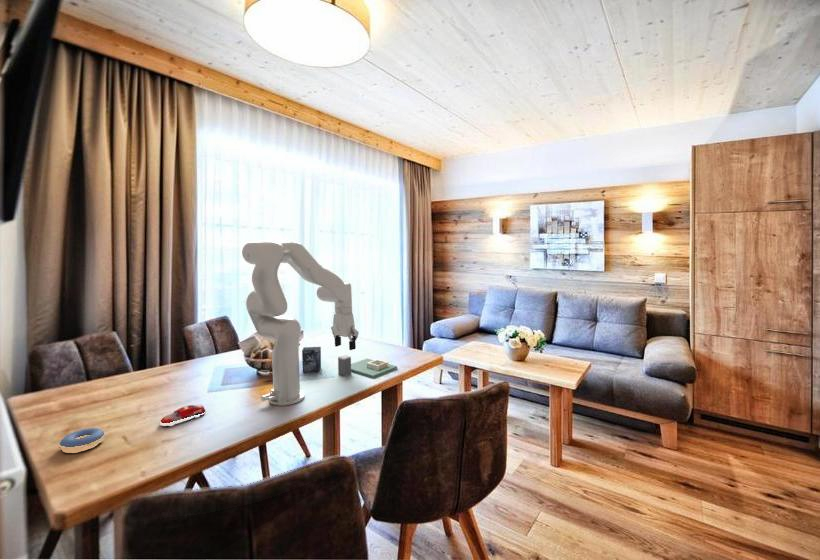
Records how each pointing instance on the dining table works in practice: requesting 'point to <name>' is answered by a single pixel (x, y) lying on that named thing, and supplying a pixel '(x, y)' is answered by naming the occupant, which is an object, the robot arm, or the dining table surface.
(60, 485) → the dining table surface
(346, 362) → the plug
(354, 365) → the board
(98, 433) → the doughnut
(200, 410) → the race car
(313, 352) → the box
